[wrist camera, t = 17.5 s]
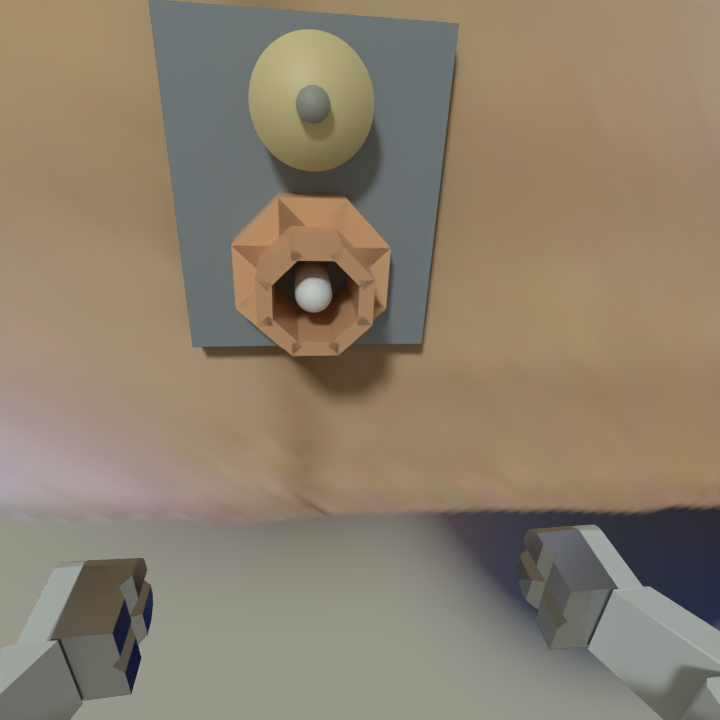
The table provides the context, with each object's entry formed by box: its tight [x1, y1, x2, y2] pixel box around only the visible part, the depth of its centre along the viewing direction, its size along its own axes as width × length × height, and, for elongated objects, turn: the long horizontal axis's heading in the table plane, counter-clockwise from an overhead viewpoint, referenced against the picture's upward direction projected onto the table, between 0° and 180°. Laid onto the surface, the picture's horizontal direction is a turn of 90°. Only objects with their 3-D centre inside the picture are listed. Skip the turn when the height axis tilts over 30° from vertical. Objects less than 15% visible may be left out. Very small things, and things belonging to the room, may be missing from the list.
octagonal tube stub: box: [231, 193, 391, 356], centre depth 27 cm, size 9×9×6 cm
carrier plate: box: [149, 0, 459, 347], centre depth 26 cm, size 15×18×6 cm
